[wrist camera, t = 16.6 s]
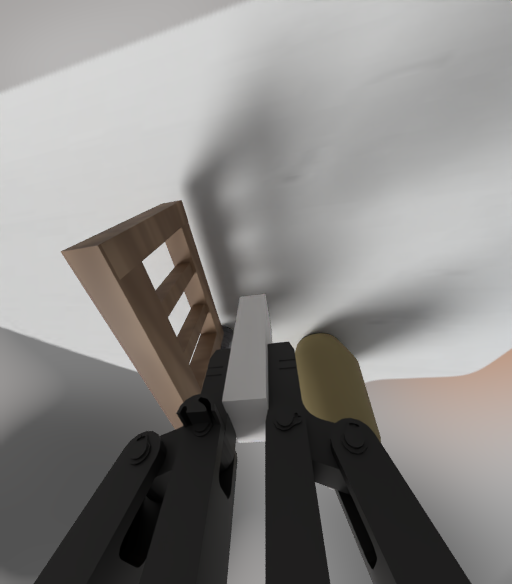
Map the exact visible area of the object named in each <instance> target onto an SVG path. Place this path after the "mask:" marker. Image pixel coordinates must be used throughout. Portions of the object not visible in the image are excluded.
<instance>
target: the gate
mask: <svg viewBox="0 0 512 584" xmlns="http://www.w3.org/2000/svg"><path fill="white" fill-rule="evenodd" d="M164 242H165V243H166V245H167V248H168V250H169V253H170V256H171V258H172V261H173V263H174V266H175V268H174V269H173V270H172V271H171V272H170V274H169V275H168V276H167V277H166V279H165V280H164V281H163V282H162V284H161V285H160V286H159V287H158V288H157V290H156V291H155V289H154V287H153V285H152V283H151V280H150V278H149V276H148V274H147V272H146V270H145V268H144V265H143V263H142V261H143V260H144V259H145V258H146V257H147V256H149V255H150V254H151V253H152V252H153V251H154V250H156V249H157V248H158V247H159V246H160V245H161V244H163V243H164ZM61 253H62V254H63V256H64V258H65V259H66V261H67V262H68V264H69V265H70V267H71V268H72V270H73V272H74V273H75V275H76V276H77V278H78V279H79V281H80V282H81V284H82V286H83V287H84V289H85V290H86V292H87V293H88V295H89V296H90V298H91V300H92V301H93V303H94V304H95V306H96V307H97V309H98V310H99V312H100V314H101V315H102V317H103V318H104V320H105V321H106V323H107V324H108V326H109V327H110V329H111V331H112V332H113V334H114V335H115V337H116V338H117V340H118V341H119V343H120V345H121V346H122V348H123V349H124V351H125V352H126V354H127V355H128V357H129V359H130V360H131V362H132V363H133V365H134V366H135V368H136V369H137V371H138V373H139V374H140V376H141V377H142V379H143V380H144V382H145V383H146V385H147V387H148V388H149V390H150V391H151V392H152V394H153V396H154V397H155V399H156V400H157V402H158V404H159V405H160V407H161V408H162V410H163V411H164V413H165V414H166V416H167V418H168V419H169V420H170V422H171V424H172V425H173V427H174V428H175V430H176V429H178V428H180V427H182V426H183V424H182V422H181V420H180V419H179V417H178V415H177V414H176V413H177V411H178V409H179V407H180V406H181V404H182V403H183V402H184V401H185V400H186V399H188V398H190V397H191V396H193V395H197V394H201V391H202V387H203V383H204V379H205V377H206V372H207V370H208V364H209V360H210V358H211V356H212V355H213V354H214V352H215V351H216V350H219V349H220V348H221V343H222V339H223V335H224V332H223V329H222V326H221V323H220V320H219V317H218V314H217V311H216V308H215V305H214V302H213V299H212V295H211V292H210V289H209V286H208V283H207V280H206V277H205V273H204V270H203V267H202V264H201V261H200V258H199V255H198V251H197V248H196V245H195V242H194V239H193V236H192V233H191V230H190V226H189V223H188V219H187V216H186V212H185V209H184V206H183V203H182V200H180V201H174V202H169V203H163V204H160V205H158V206H156V207H154V208H152V209H150V210H148V211H145V212H143V213H141V214H139V215H137V216H135V217H133V218H131V219H129V220H127V221H124V222H122V223H120V224H118V225H116V226H114V227H112V228H110V229H108V230H105V231H103V232H101V233H99V234H97V235H95V236H93V237H91V238H89V239H86V240H84V241H82V242H80V243H78V244H76V245H74V246H72V247H70V248H67V249H65V250H63V251H61ZM183 292H185V294H186V297H187V299H188V302H189V305H190V307H191V310H190V312H189V314H188V316H187V318H186V320H185V322H184V324H183V326H182V328H181V330H180V332H179V334H178V336H177V337H176V335H175V332H174V330H173V328H172V326H171V324H170V322H169V319H168V316H169V315H170V313H171V311H172V310H173V308H174V307H175V305H176V303H177V302H178V300H179V298H180V297H181V295H182V293H183ZM200 333H201V336H200V338H199V335H200ZM198 338H199V341H198ZM197 341H198V344H197V347H196V349H195V346H196V343H197ZM194 349H195V352H194V355H193V357H192V354H193V351H194ZM191 357H192V360H191V363H190V365H189V362H190V359H191Z"/></svg>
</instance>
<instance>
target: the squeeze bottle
mask: <svg viewBox="0 0 512 584" xmlns="http://www.w3.org/2000/svg"><path fill="white" fill-rule="evenodd" d="M295 358H296V364H297V371H298V377H299V384H300V391H301V397H302V401H303V404H304V406H305V408H306V409H307V410H308V411H309V412H310V413H311V414H312V415H314V416H315V417H317V418H320V419H323V420H326V421H330V422H334V423H336V422H337V421H339V420H341V419H344V418H353V419H357V420H360V421H361V422H363V423H365V424H366V425H368V426H369V427H370V429H371V430H372V431H373V432H374V433H375V435H376V436H377V438H378V439H379V441H380V442H381V437H380V434H379V430H378V427H377V424H376V421H375V417H374V414H373V410H372V407H371V403H370V400H369V397H368V393H367V390H366V387H365V383H364V380H363V377H362V373H361V370H360V366H359V363H358V361H357V359H356V358H355V357H354V356H353V354H352V353H351V352H350V351H349V350H348V349H347V348H346V347H345V346H344V345H343V344H342V343H341V342H340V341H339V340H338V339H337V338H336V337H334V336H332V335H330V334H325V333H316V334H311V335H309V336H307V337H305V338H303V339H302V340H301V341H300V342H299V343H298V344H297V348H296V351H295ZM328 488H330V487H328ZM330 489H332V488H330ZM333 490H335V489H333Z"/></svg>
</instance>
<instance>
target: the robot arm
mask: <svg viewBox="0 0 512 584" xmlns="http://www.w3.org/2000/svg"><path fill="white" fill-rule="evenodd" d="M176 414H177V415H178V417H179V419H180V420H181V422H182V424H183V426H182V427H180V428H178V429H176V430H173V431H171V432H169V433H166V434H164V435H161V436H159V435H158V434H157V433H155V432H153V431H146V432H143V433H141V434H139V435H137V436H136V437H135V438H133V439H132V440H131V441H130V442H129V443H128V445H127V446H126V447H125V448H124V450H123V451H122V453H121V454H120V456H119V457H118V459H117V460H116V462H115V463H114V465H113V466H112V468H111V469H110V471H109V472H108V474H107V475H106V477H105V478H104V480H103V481H102V483H101V484H100V486H99V487H98V489H97V490H96V492H95V493H94V495H93V496H92V498H91V499H90V501H89V502H88V504H87V505H86V507H85V508H84V510H83V511H82V512H81V514H80V515H79V517H78V519H77V520H76V521H75V523H74V524H73V526H72V527H71V529H70V530H69V532H68V533H67V535H66V536H65V538H64V539H63V541H62V542H61V544H60V545H59V547H58V548H57V550H56V551H55V553H54V554H53V556H52V557H51V559H50V560H49V562H48V563H47V565H46V566H45V568H44V569H43V571H42V572H41V574H40V575H39V577H38V578H37V580H36V581H35V583H34V584H227V574H228V562H229V551H230V539H231V527H232V516H233V505H234V492H235V481H236V469H237V453H236V451H235V443H236V437H237V440H238V442H239V443H242V442H262V441H265V444H266V445H265V452H266V453H265V454H266V456H265V459H266V460H265V461H266V462H265V463H266V464H265V467H266V468H265V473H266V475H265V480H266V481H265V486H266V487H265V488H266V489H265V491H266V493H265V494H266V495H265V497H266V501H265V502H266V584H330V579H329V572H328V566H327V559H326V553H325V546H324V541H323V540H324V539H323V533H322V526H321V520H320V513H319V506H318V500H317V493H316V487H315V482H317V483H320V484H322V485H325V486H327V487H330V488H332V489H335V491H336V494H337V496H338V499H339V501H340V504H341V506H342V508H343V511H344V513H345V516H346V518H347V521H348V523H349V526H350V528H351V531H352V533H353V535H354V538H355V540H356V543H357V545H358V548H359V550H360V552H361V555H362V557H363V560H364V562H365V565H366V567H367V569H368V572H369V575H370V577H371V580H372V582H373V584H471V583H470V581H469V579H468V578H467V576H466V575H465V574H464V571H463V570H462V568H461V567H460V565H459V564H458V562H457V561H456V559H455V557H454V556H453V555H452V553H451V551H450V550H449V548H448V547H447V545H446V543H445V542H444V541H443V539H442V537H441V536H440V534H439V533H438V531H437V530H436V528H435V527H434V525H433V523H432V522H431V520H430V519H429V517H428V516H427V514H426V513H425V511H424V509H423V508H422V506H421V505H420V503H419V502H418V500H417V498H416V497H415V495H414V494H413V492H412V491H411V489H410V488H409V486H408V484H407V483H406V482H405V480H404V478H403V477H402V475H401V474H400V472H399V470H398V469H397V467H396V466H395V464H394V463H393V461H392V460H391V458H390V457H389V455H388V453H387V452H386V451H385V449H384V447H383V446H382V444H381V442H380V441H379V439H378V438H377V436H376V435H375V433H374V432H373V431H372V430H371V429H370V427H369V426H368V425H366V424H365V423H363V422H361V421H360V420H357V419H353V418H344V419H341V420H339V421H337V422H336V423H334V422H330V421H326V420H323V419H320V418H317V417H315V416H314V415H312V414H311V413H310V412H309V411H308V410H307V409H306V408H305V406H304V404H303V401H302V397H301V391H300V384H299V377H298V371H297V364H296V358H295V351H294V348H293V347H292V346H291V344H290V343H289V342H281V343H272V329H271V323H270V318H269V312H268V306H267V300H266V295H265V294H258V295H250V296H243V297H240V299H239V305H238V311H237V317H236V322H235V328H234V334H233V340H232V346H231V348H229V349H219V350H216V351H215V352H214V354H213V355H212V356H211V358H210V360H209V364H208V370H207V372H206V377H205V379H204V383H203V387H202V391H201V394H197V395H193V396H191V397H190V398H188V399H186V400H185V401H184V402H183V403H182V404H181V406H180V407H179V409H178V411H177V413H176Z"/></svg>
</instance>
